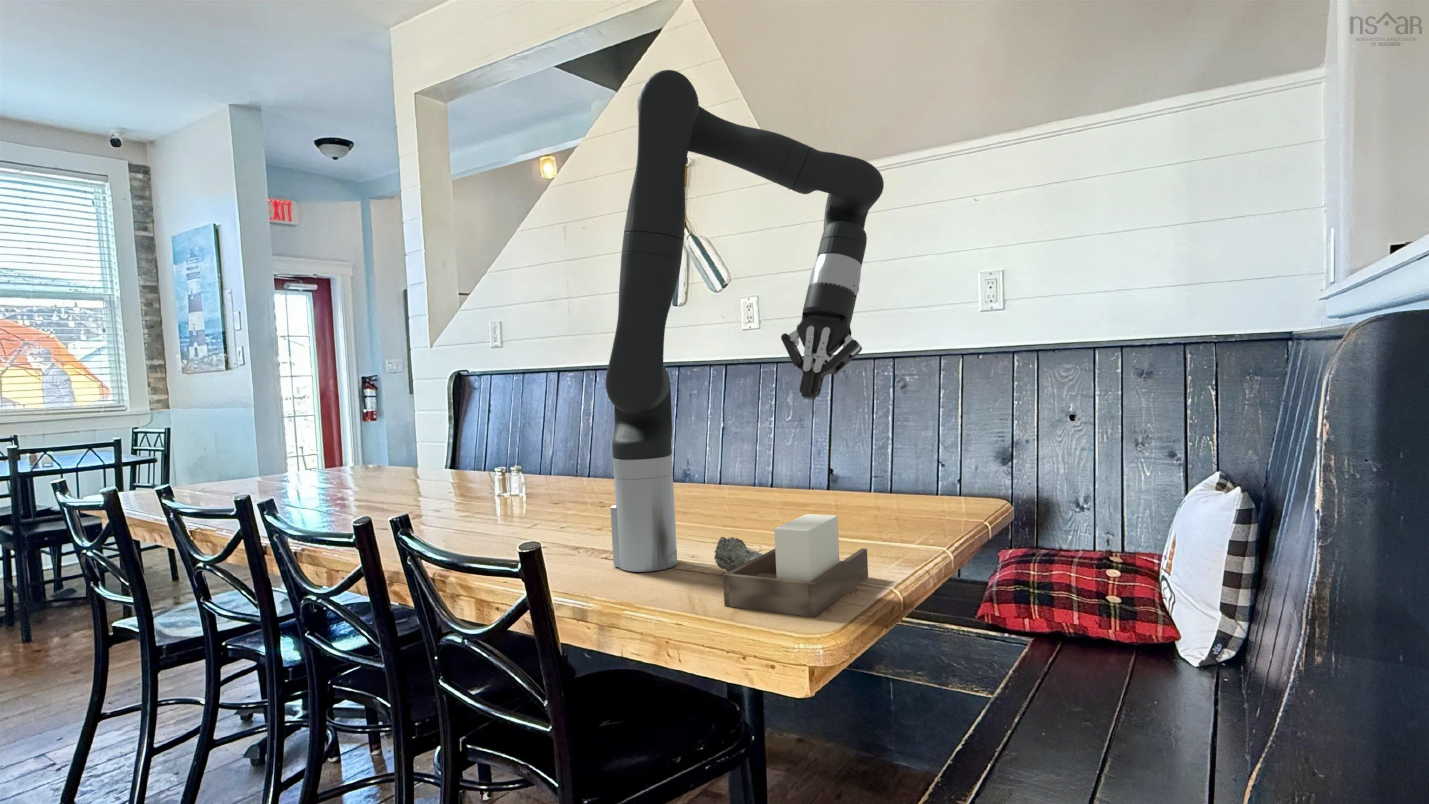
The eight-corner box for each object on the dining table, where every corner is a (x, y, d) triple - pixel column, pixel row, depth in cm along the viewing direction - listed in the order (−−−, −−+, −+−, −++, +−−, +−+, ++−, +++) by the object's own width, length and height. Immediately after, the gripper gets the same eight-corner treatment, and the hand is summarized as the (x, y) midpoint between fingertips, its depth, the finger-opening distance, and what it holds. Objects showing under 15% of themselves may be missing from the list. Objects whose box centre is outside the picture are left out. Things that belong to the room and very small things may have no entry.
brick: (777, 592, 96) (774, 528, 96) (808, 572, 105) (806, 514, 104) (810, 596, 94) (807, 530, 94) (840, 575, 102) (837, 515, 102)
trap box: (724, 605, 98) (722, 574, 98) (787, 569, 115) (786, 542, 114) (815, 617, 92) (814, 584, 92) (868, 577, 108) (867, 548, 108)
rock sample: (774, 556, 107) (739, 511, 112) (734, 593, 107) (700, 546, 112) (797, 571, 116) (763, 528, 121) (759, 604, 116) (726, 561, 121)
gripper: (784, 278, 118) (758, 386, 115) (867, 282, 111) (842, 397, 108) (801, 296, 124) (778, 399, 121) (881, 301, 118) (857, 410, 115)
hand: (808, 398), depth 115 cm, fingers closed
